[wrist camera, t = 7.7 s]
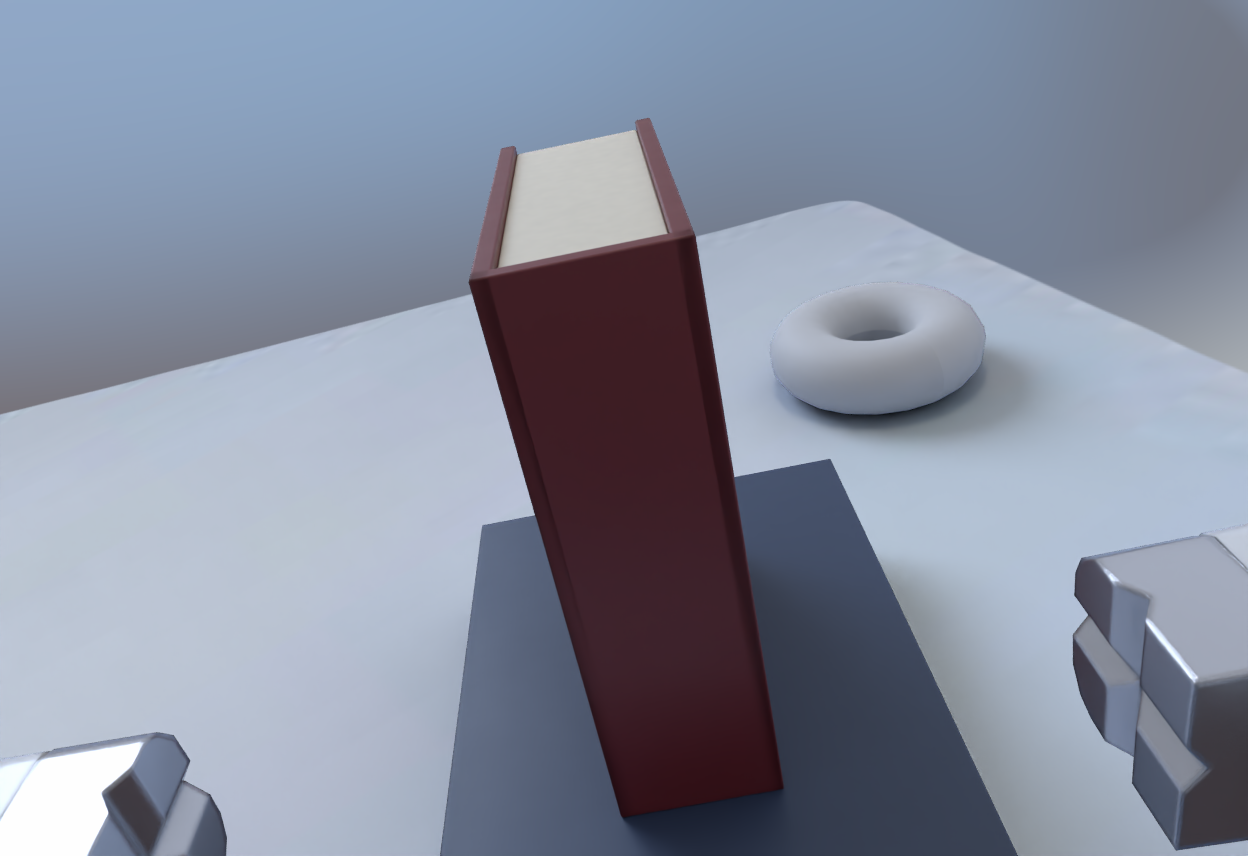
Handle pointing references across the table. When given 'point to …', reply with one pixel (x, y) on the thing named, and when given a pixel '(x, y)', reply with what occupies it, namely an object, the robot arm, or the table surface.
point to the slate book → (799, 695)
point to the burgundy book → (628, 462)
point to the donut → (877, 348)
